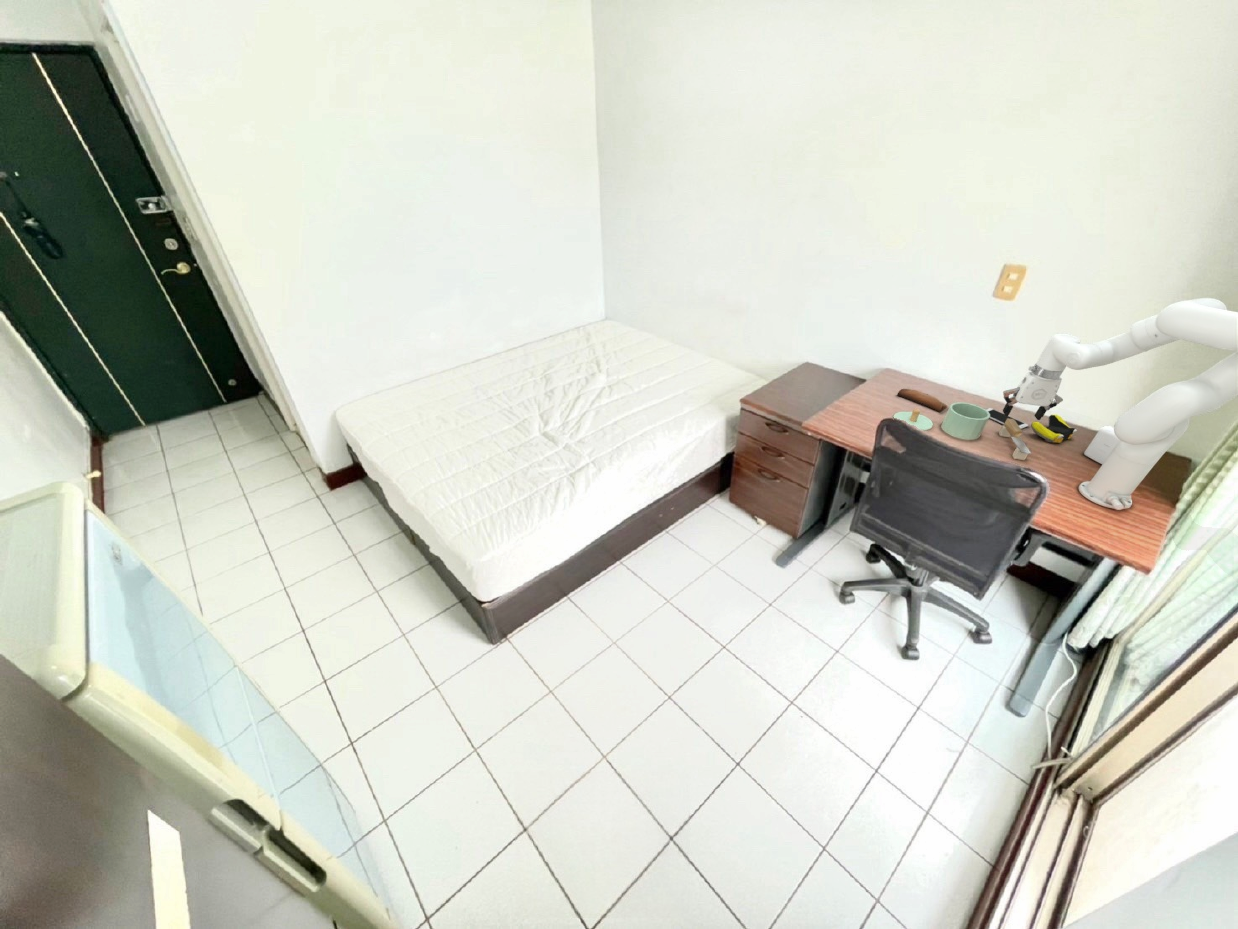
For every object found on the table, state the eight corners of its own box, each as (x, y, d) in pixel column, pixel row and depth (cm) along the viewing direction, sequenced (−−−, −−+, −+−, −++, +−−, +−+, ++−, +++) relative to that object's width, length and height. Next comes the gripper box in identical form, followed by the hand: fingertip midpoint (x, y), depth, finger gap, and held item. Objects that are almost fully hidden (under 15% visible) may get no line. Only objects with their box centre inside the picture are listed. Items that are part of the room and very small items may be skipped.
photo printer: (1080, 453, 169) (1100, 423, 162) (1089, 452, 170) (1110, 421, 163) (1110, 470, 161) (1133, 439, 154) (1120, 468, 162) (1144, 437, 155)
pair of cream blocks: (1024, 460, 167) (1029, 451, 164) (1013, 458, 167) (1018, 450, 165) (1008, 434, 180) (1012, 426, 178) (998, 433, 180) (1002, 425, 178)
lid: (935, 434, 180) (941, 421, 177) (895, 429, 183) (900, 416, 180) (927, 416, 191) (933, 404, 187) (890, 412, 194) (894, 399, 190)
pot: (983, 443, 175) (994, 421, 170) (944, 437, 178) (954, 416, 173) (973, 425, 185) (984, 404, 180) (937, 421, 188) (946, 400, 183)
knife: (1021, 452, 164) (1025, 445, 162) (1002, 424, 179) (1006, 418, 177) (1030, 454, 163) (1034, 447, 162) (1011, 425, 178) (1015, 419, 176)
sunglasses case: (950, 406, 196) (951, 396, 191) (939, 418, 195) (940, 409, 190) (906, 390, 208) (907, 380, 203) (896, 401, 207) (896, 392, 202)
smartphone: (990, 407, 194) (1029, 425, 183) (989, 408, 195) (1028, 426, 184) (978, 411, 192) (1017, 429, 181) (977, 413, 192) (1016, 431, 181)
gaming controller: (1023, 434, 180) (1052, 447, 173) (1030, 421, 177) (1060, 434, 169) (1046, 424, 185) (1076, 437, 178) (1054, 412, 182) (1084, 424, 175)
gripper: (1020, 373, 159) (996, 417, 169) (1082, 380, 155) (1053, 425, 165) (1013, 363, 164) (989, 407, 175) (1072, 370, 160) (1045, 414, 171)
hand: (1020, 416), depth 170 cm, fingers open, 9 cm apart
